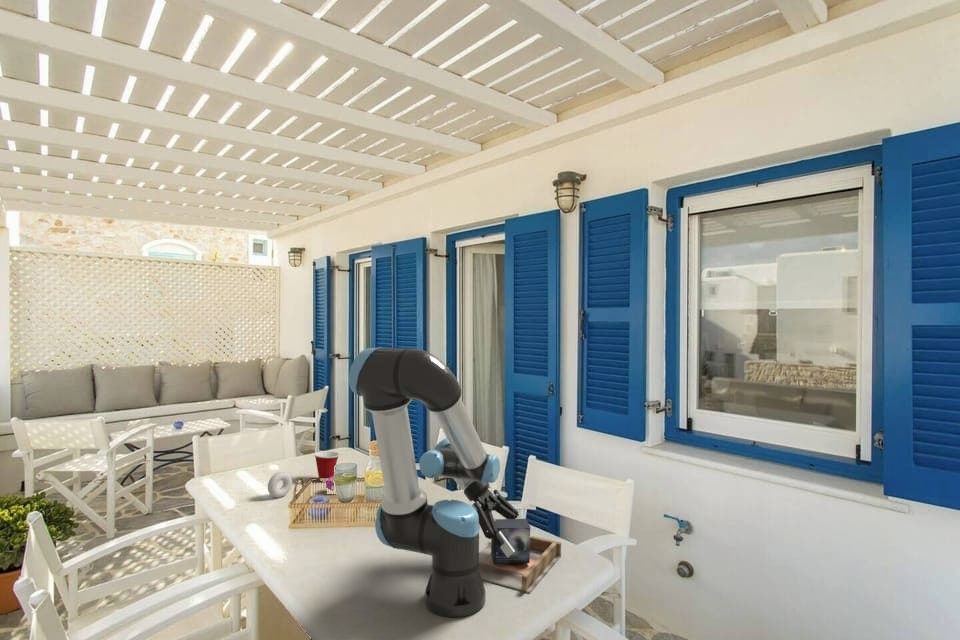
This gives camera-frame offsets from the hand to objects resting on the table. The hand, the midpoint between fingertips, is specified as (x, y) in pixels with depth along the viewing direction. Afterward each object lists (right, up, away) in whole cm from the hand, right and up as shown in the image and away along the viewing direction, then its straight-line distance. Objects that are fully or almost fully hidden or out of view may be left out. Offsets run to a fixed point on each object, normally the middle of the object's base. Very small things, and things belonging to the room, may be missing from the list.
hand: (519, 546), depth 143 cm
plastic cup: (-79, -6, +78) cm, 111 cm away
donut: (-91, -6, +56) cm, 107 cm away
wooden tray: (-3, -6, +1) cm, 6 cm away
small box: (-3, -4, +1) cm, 5 cm away
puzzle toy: (-71, -6, +62) cm, 94 cm away
